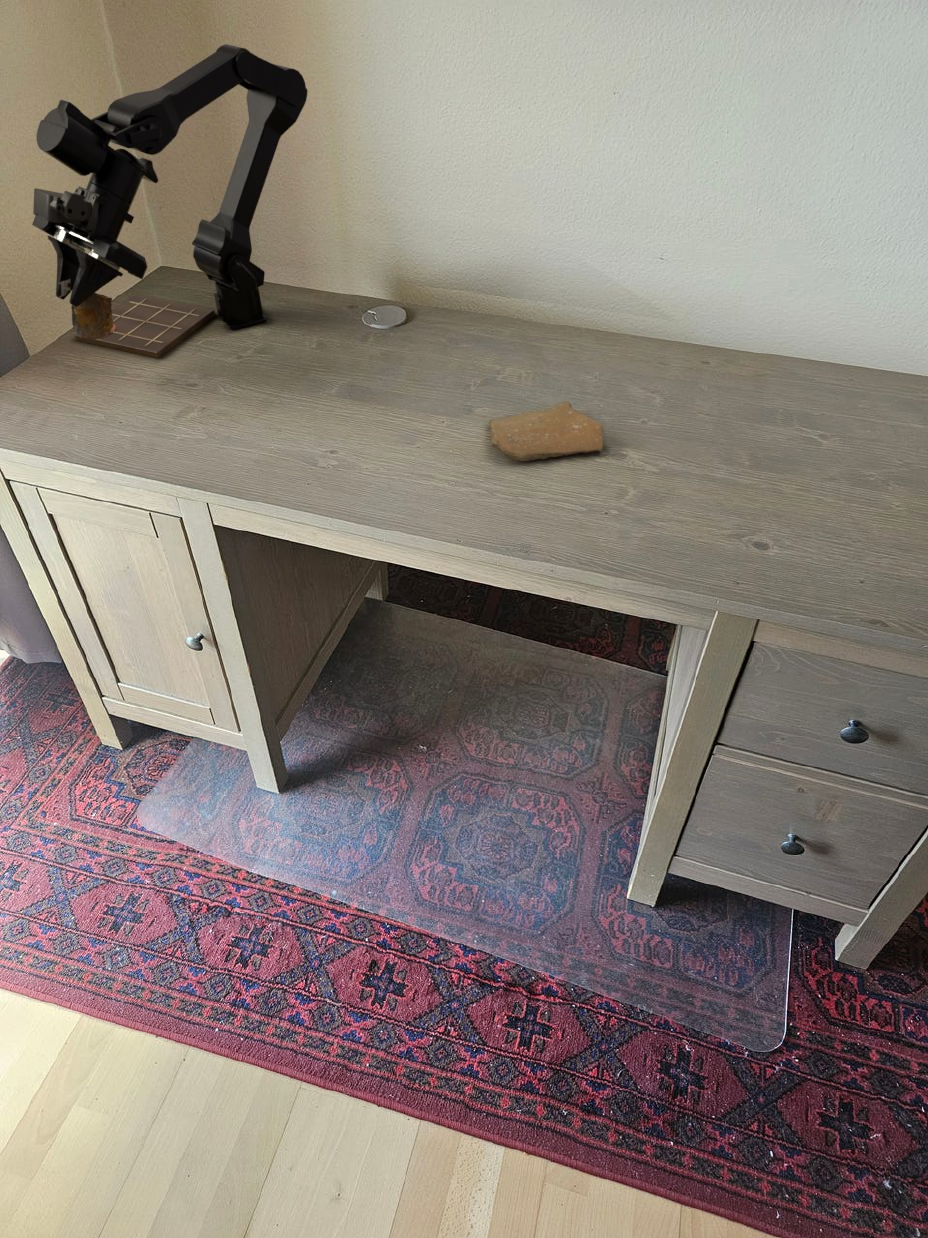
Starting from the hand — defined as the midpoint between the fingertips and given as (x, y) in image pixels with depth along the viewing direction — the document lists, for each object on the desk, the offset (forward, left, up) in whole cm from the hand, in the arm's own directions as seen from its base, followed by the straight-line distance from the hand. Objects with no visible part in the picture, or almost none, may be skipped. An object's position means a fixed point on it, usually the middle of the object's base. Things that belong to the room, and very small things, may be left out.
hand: (66, 301), depth 116 cm
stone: (-51, +45, -13) cm, 69 cm away
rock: (-2, 0, -7) cm, 7 cm away
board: (-11, -15, -13) cm, 23 cm away
